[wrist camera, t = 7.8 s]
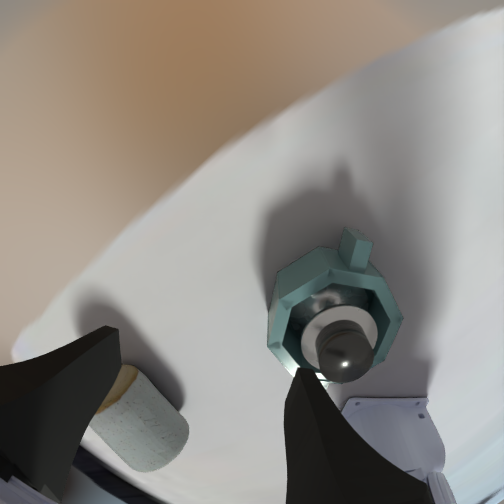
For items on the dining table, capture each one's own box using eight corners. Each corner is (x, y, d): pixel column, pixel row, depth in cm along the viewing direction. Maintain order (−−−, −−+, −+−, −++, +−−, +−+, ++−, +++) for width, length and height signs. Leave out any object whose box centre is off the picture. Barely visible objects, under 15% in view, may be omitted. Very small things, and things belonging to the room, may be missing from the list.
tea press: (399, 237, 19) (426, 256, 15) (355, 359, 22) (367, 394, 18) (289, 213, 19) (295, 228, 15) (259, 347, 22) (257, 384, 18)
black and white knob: (376, 277, 19) (411, 323, 13) (352, 344, 21) (373, 400, 15) (299, 263, 19) (311, 309, 13) (281, 334, 21) (283, 394, 15)
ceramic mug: (144, 349, 23) (106, 410, 16) (198, 410, 25) (179, 473, 18) (79, 375, 26) (44, 421, 18) (127, 425, 28) (103, 474, 20)
